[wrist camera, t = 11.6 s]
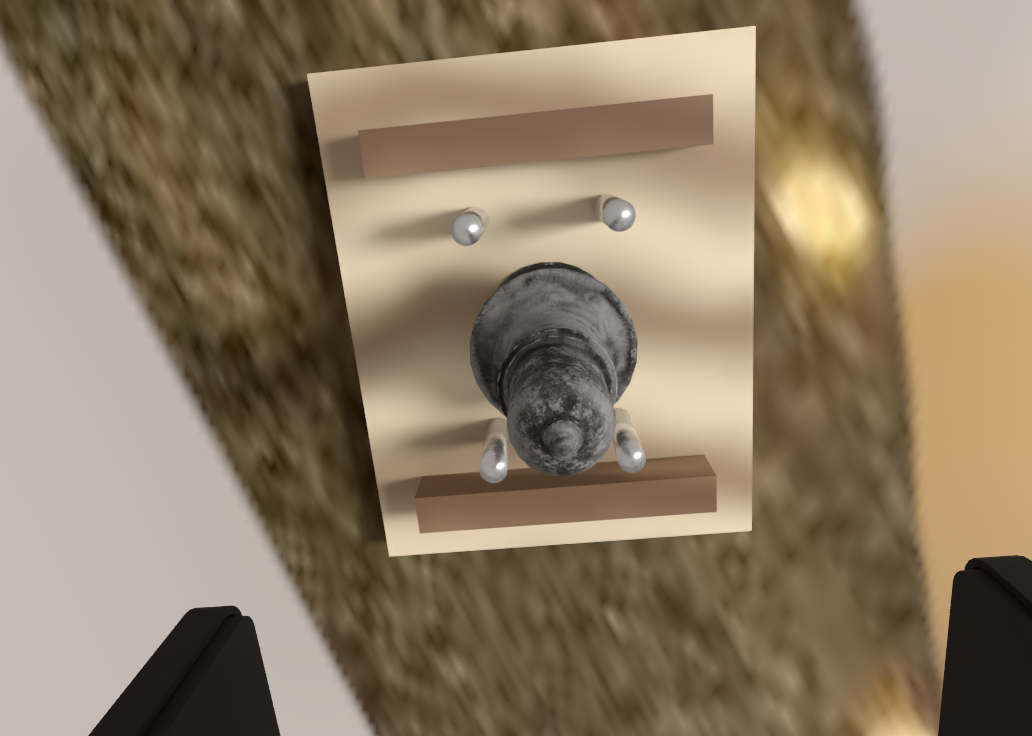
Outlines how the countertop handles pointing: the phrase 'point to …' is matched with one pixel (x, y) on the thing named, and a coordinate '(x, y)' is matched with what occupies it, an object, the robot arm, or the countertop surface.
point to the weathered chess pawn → (555, 364)
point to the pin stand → (550, 238)
